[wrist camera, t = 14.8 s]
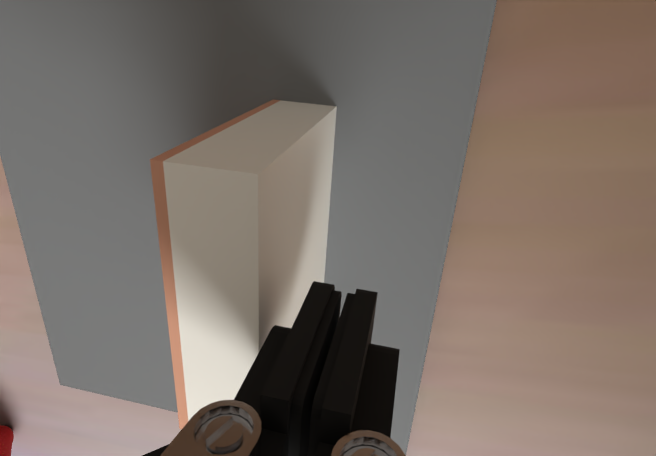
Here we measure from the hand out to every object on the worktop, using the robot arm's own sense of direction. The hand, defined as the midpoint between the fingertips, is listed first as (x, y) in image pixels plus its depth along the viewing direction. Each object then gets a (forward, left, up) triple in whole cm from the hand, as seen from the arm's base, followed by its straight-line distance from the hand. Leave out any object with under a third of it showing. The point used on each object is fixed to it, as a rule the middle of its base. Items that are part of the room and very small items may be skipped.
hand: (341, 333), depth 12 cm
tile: (+3, 0, -7) cm, 8 cm away
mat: (+7, 0, -8) cm, 10 cm away
